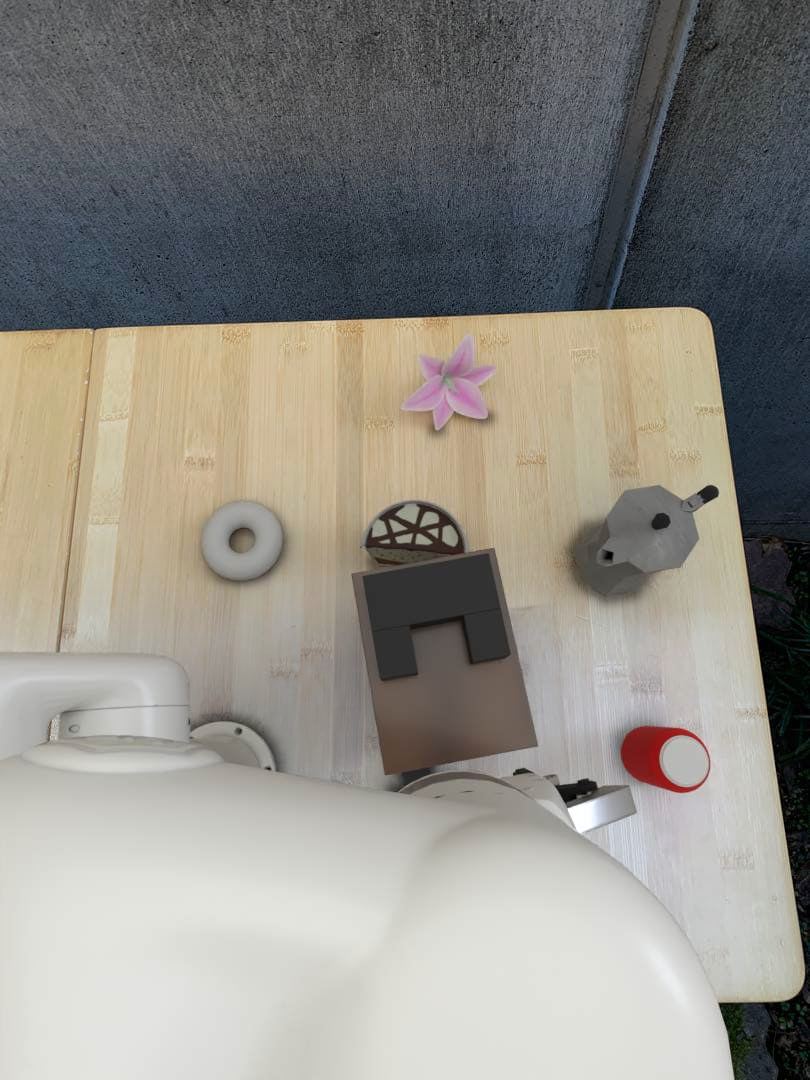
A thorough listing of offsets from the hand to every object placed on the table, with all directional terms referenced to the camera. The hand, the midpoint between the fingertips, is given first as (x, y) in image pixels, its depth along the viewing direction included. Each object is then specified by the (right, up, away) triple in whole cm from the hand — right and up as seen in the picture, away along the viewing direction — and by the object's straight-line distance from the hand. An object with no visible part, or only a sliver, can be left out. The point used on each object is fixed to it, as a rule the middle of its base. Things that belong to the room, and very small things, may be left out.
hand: (442, 816), depth 39 cm
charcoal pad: (0, -14, +38) cm, 40 cm away
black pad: (0, +9, +16) cm, 19 cm away
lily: (0, +39, +50) cm, 63 cm away
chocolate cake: (-1, +15, +46) cm, 48 cm away
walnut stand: (+1, 0, +41) cm, 41 cm away
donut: (-22, +15, +46) cm, 53 cm away
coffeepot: (+24, +14, +45) cm, 53 cm away
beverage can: (+25, -9, +39) cm, 47 cm away
